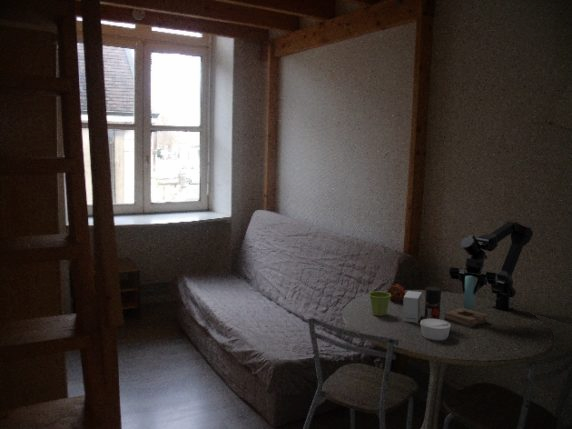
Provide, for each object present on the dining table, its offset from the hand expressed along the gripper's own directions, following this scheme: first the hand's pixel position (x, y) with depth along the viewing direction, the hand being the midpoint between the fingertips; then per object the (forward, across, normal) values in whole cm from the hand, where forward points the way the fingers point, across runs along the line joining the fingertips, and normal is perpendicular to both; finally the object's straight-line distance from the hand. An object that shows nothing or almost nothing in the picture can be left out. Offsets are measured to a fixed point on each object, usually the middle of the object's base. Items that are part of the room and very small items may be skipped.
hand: (468, 292), depth 214 cm
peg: (+4, 0, +6) cm, 7 cm away
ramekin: (+26, -6, -8) cm, 28 cm away
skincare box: (+15, -21, +3) cm, 26 cm away
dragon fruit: (-1, -36, +19) cm, 41 cm away
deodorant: (+17, -11, +1) cm, 21 cm away
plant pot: (+16, -34, +2) cm, 38 cm away
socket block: (+8, -1, +10) cm, 13 cm away
